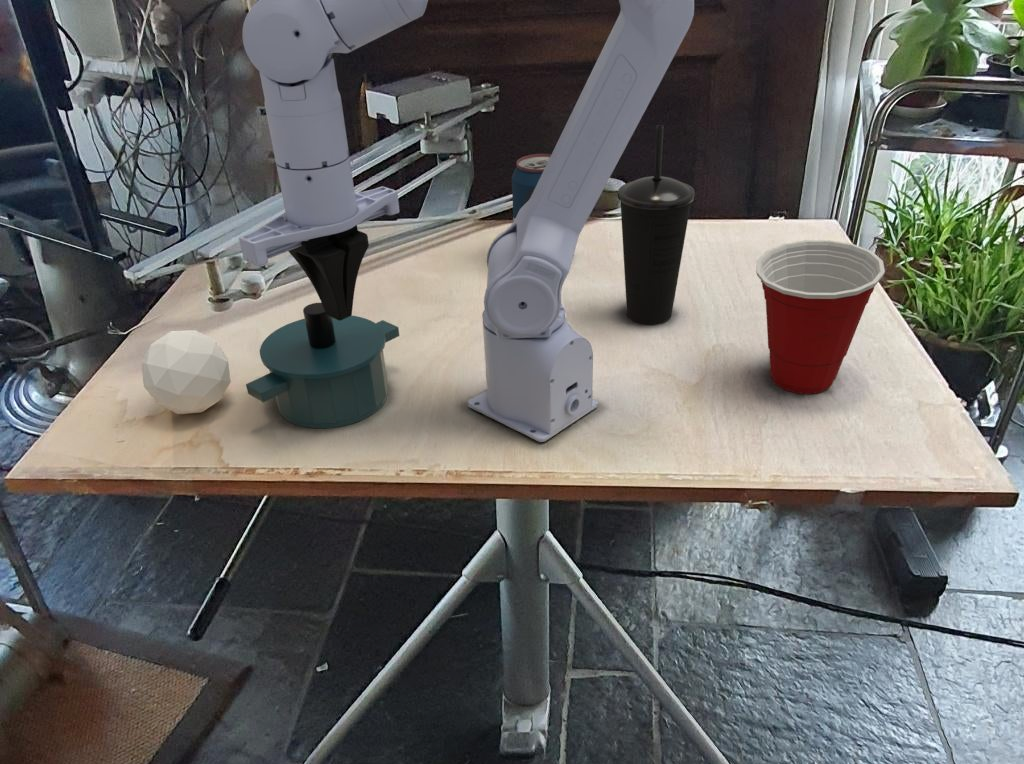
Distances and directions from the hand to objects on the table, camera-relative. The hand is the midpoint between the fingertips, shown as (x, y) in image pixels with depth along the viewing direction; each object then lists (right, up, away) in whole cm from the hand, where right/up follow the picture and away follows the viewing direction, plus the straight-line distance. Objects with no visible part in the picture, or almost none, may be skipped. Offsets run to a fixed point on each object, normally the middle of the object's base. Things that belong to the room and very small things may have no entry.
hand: (339, 314), depth 78 cm
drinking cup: (+30, +3, +19) cm, 36 cm away
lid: (-2, -2, +4) cm, 6 cm away
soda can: (+19, +12, +32) cm, 39 cm away
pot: (-2, -7, +8) cm, 10 cm away
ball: (-15, -8, +7) cm, 18 cm away
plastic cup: (+43, -5, +7) cm, 44 cm away
